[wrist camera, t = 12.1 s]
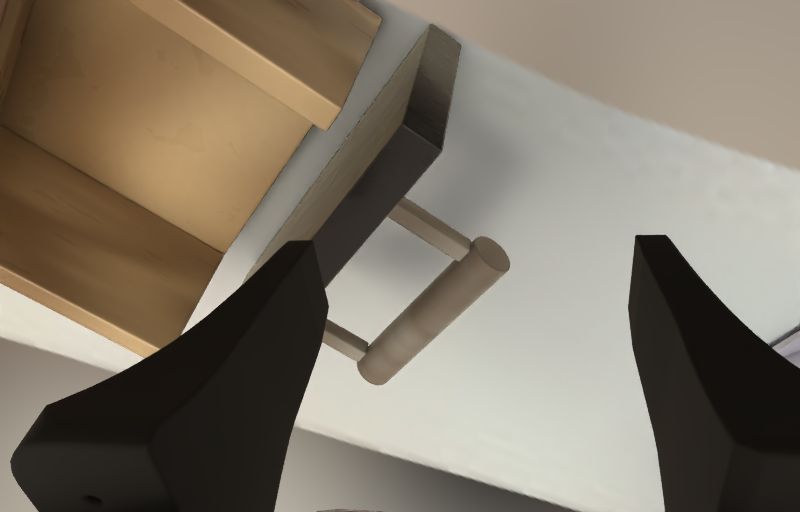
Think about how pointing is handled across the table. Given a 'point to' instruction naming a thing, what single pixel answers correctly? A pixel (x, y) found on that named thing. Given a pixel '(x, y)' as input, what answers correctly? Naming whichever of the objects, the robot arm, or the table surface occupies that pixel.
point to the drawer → (213, 159)
